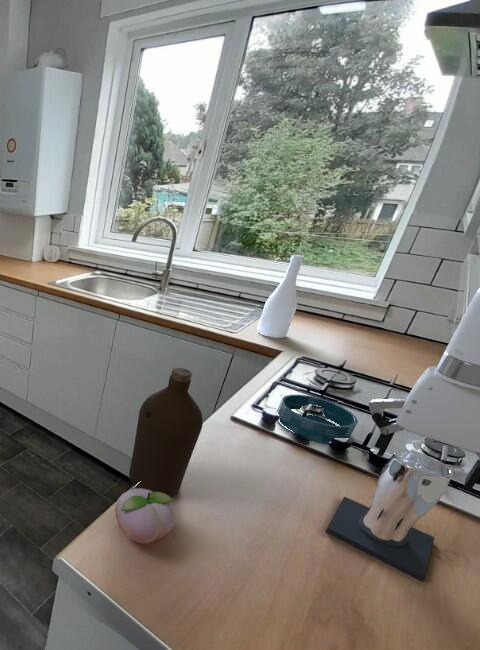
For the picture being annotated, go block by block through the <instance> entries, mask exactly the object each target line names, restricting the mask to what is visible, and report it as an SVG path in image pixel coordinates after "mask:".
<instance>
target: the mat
mask: <svg viewBox="0 0 480 650" xmlns="http://www.w3.org/2000/svg"><path fill="white" fill-rule="evenodd" d="M369 508H370V506H366V505H365V504H362V503H360V502H358V501H355V500H353V499H351V498H349V497H346V496H343V498H342V499H341V501H340V503H339V505H338V507H337V508H336V511H335V512H334V514H333V516H332V518H331V519H330V522H329V523H328V525H327V527H326V529H325V531H324V532H325V533H326V534H329V535H331V536H333V537H335V538H336V539H339V540H341V541H342V542H345V543H346V544H348V545H350V546H352V547H354V548H356V549H358V550H359V551H362V552H363V553H366V554H367V555H369V556H372V557H373V558H375V559H377V560H378V561H381V562H384V564H385V563H386V564H387V565H389V566H391V567H393V568H395V569H396V570H399V571H401V572H402V573H405V574H406V575H408V576H410V577H413V578H414V579H416V580H418V581H420V582H423V581H424V580H425V578H426V575H427V571H428V567H429V562H430V558H431V554H432V550H433V545H434V540H435V537H434V536H433V535H430V534H428V533H427V532H423V531H421V530H420V529H417V528H415V527H414V526H413V527H412V528H411V530H410V532H409V535H408V539H407V543H406V544H405V545H404V546H402V547H393V546H389V545H385V544H383V543H380V542H378V541H376V540H374V539H373V538H371V537H370V536H368V535H367V534H366V533H364V532H363V531H362V530H361V528H360V527H359V525H358V520H359V519H360V518H361V517H362V516H363V515H364V514H365V513H366V512H367V511H368V509H369Z"/></svg>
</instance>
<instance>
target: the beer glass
mask: <svg viewBox="0 0 480 650" xmlns="http://www.w3.org/2000/svg"><path fill="white" fill-rule="evenodd" d="M453 476H454V472H453V470H452V468H450V467H449V466H448V465H447V464H445V463H444V462H442V461H440V460H438V459H436V458H435V457H432V456H430V455H427V454H425V453H421V452H418V451H414V450H409V449H398V450H395V451H394V452H393V454H392V456H391V457H390V458H389V460H388V461H387V462H386V464H385V465H384V466H383V468H382V470H381V471H380V473H379V476H378V478H377V481H376V484H375V488H374V491H373V495H372V500H371V503H370V505H369V509H368V511H367V512H366V513H365V514H364V515H363V516H362V517H361V518H360V519H359V520H358V525H359V527H360V528H361V530H362V531H363V532H364V533H366V534H367V535H368V536H370V537H371V538H373V539H374V540H376V541H378V542H380V543H383V544H385V545H389V546H393V547H402V546H404V545H405V544H406V543H407V539H408V535H409V532H410V530H411V528H412V527H413V528H414V525H415V524H417V522H419V520H422V518H423V517H424V516H425V515H427V514H428V513H429V512H430V511H431V510H432V509H433V508H434V507H435V506H436V505H437V504H438V502H439V501H440V500H441V499H442V497H443V496H444V494H445V491H446V490H447V488H448V486H449V483H450V482H451V480H452V478H453Z"/></svg>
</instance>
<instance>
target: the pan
mask: <svg viewBox="0 0 480 650" xmlns="http://www.w3.org/2000/svg"><path fill="white" fill-rule="evenodd" d="M308 404H312V405H318V406H321V407H322V408H324V410H323V412H324V415H325V417H326V418H327V419H330V420H331V421H334V422H335V423H337V424H339V425H340V426H336V425H335V424H333V423H331V422H329V421H327V420H325V419H323V418H320V417H318V416H314V415H313V416H312V415H308V416H306V418H305V417H303V416H301V415H299V414H297V413H295V412H293V411H292V410H291V409H300V408H301V407H302V406H305V405H308ZM276 412H278V414H279V415H280V417H281V418H280V422H281V423H282V424H283V425H284V426H286V427H287V428H288V429H290V430H292V431H293V432H295V433H297V434H300V435H302V436H305V437H307V438H309V439H307V438H305V437H302V436H300V435H297V434H295V433H293V432H292V431H290V430H288V429H286V428H285V427H284V426H282V425H281V424H280V423H279V422H278V424H279V425H280V426H281V427H282V428H284V429H285V430H286V431H288V432H290V433H291V434H293V435H296V436H298V437H300V438H302V439H305V440H308V441H311V442H315V443H320V444H324V445H331V444H330V443H329V442H330V441H331V440H332V439H333V438H350V439H351V437H352V435H353V434H354V431H355V429H356V427H357V425H358V423H359V421H358V417H357V416H356V415H355V414H353V413H352V412H351V411H350V410H349V409H347V408H345V407H343V406H342V405H340V404H337V403H335V402H333V401H329V400H326V399H324V398H320V397H315V396H311V395H304V394H288V395H284V396H283V397H282V398H281V399H280V402H279V405H278V407H277V410H276Z"/></svg>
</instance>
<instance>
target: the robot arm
mask: <svg viewBox="0 0 480 650" xmlns="http://www.w3.org/2000/svg"><path fill="white" fill-rule="evenodd" d="M368 407H369V411H370V414H371V419H372V421H373V422H374V423H375V426H377V428H378V429H379V432H380V434H379V435H378V437H377V439H376V442H375V443H374V446H373V447H374V448H377V449H378V452H376V456H378V457H383V456H384V455H385V453H386V451H387V449H388V447H389V445H390V444H391V441H392V439H393V438H394V435H395V433H398V432H400V431H404V430H405V431H407V432H410V433H412V434H416V435H419V436H422V437H425V438H427V439H430V440H433V441H437V442H440V443H442V444H445V445H448V446H452V447H455V448H458V449H462V450H465V451H468V452H471V453H475V454H476V456H477V458H478V459H477V460H476V461H475V463H474V464H473V466H472V468H471V469H470V471H469V472H468V474H467V475H466V477H465V478H464V484H463V488H465V489H467V490H469V491H472V489H473V488H474V486H475V485H479V486H480V287H479V288H478V289H477V290H476V292H475V294H474V295H473V297H472V299H471V301H470V302H469V304H468V306H467V308H466V310H465V312H464V314H463V315H462V318H461V320H460V322H459V324H458V325H457V327H456V329H455V331H454V333H453V334H452V336H451V338H450V340H449V343H448V344H447V346H446V348H445V350H444V351H443V354H442V356H441V358H440V360H439V361H438V363H437V365H436V366H435V365H433V366H428V367H427V369H425V370H424V371H423V373H422V374H421V375H420V376H419V377H418V379H417V380H416V382H415V383H414V385H413V386H412V388H411V389H410V392H409V393H408V395H407V396H406V397H405V398H404V397H403V398H372V399H370V400H369V402H368ZM383 409H399V412H398V414H397V417H395V418H393V419H389V418H387V416H386V414H385V413H384V412H383Z"/></svg>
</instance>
